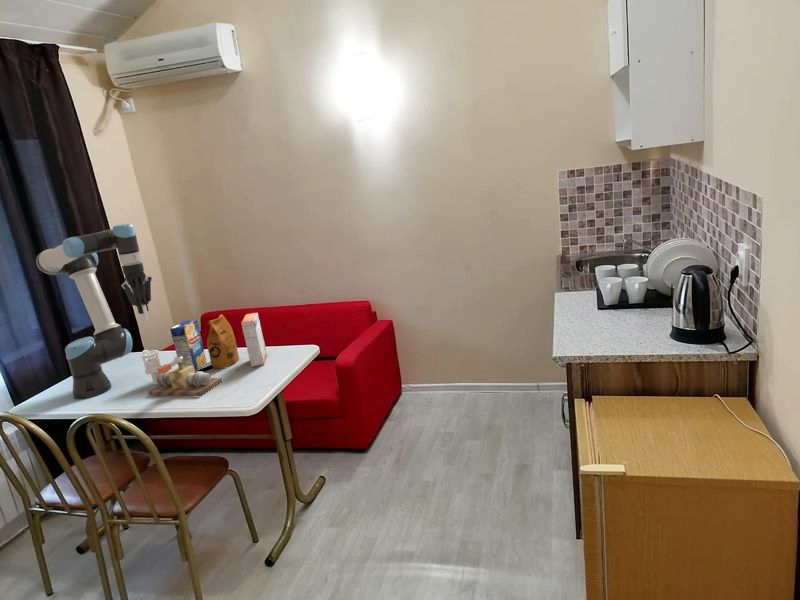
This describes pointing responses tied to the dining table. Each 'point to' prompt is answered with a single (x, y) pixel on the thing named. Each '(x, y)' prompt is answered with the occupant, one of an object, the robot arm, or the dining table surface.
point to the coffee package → (221, 343)
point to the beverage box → (189, 344)
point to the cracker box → (254, 339)
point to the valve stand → (184, 382)
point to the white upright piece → (151, 363)
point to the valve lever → (170, 365)
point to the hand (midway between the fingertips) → (145, 320)
